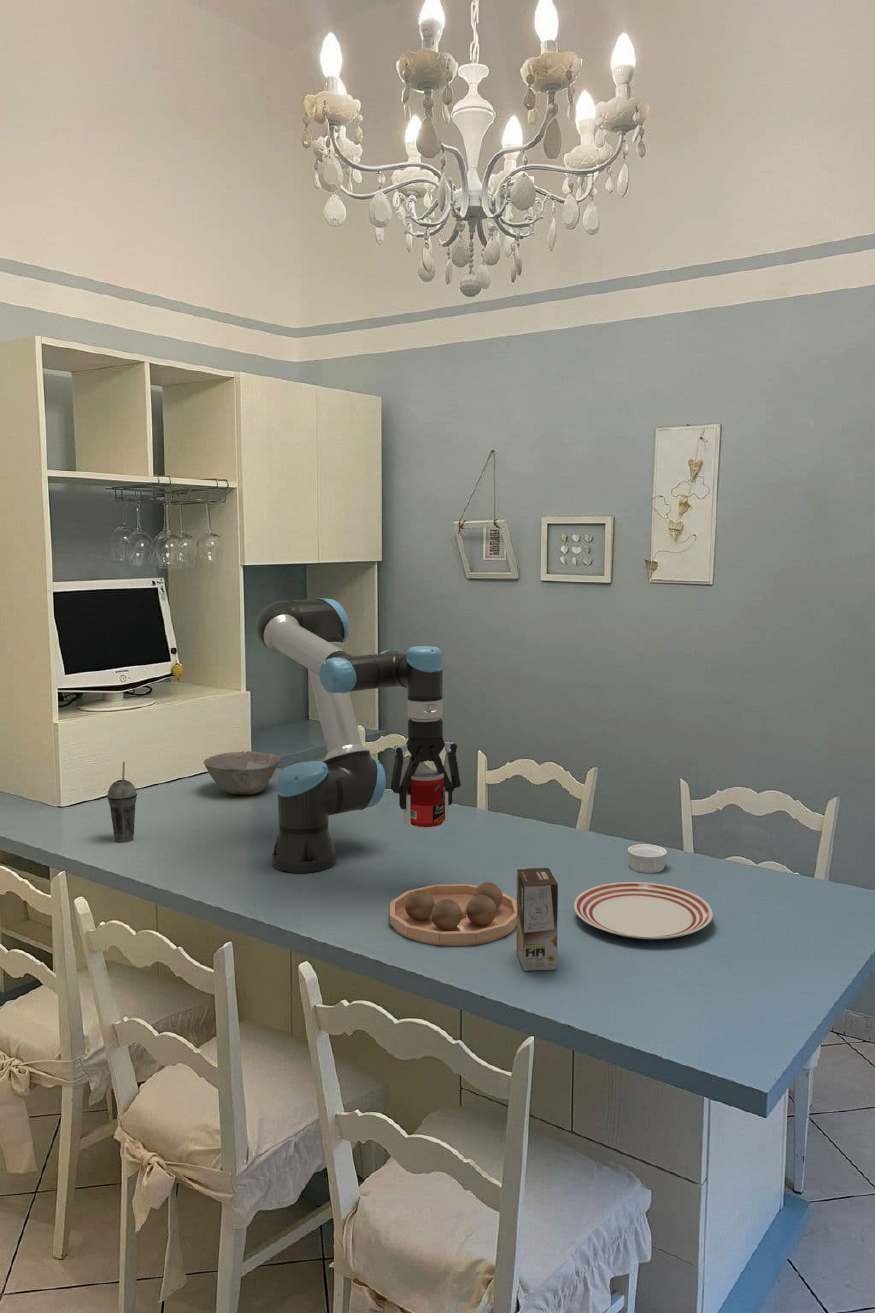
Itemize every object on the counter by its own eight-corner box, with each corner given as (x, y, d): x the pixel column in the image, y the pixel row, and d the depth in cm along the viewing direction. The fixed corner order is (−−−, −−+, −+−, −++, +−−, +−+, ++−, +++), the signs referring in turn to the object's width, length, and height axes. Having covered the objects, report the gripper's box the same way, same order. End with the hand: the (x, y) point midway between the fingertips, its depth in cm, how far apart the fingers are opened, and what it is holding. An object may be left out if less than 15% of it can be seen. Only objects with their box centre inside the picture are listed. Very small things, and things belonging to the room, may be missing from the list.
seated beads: (394, 925, 197) (394, 896, 196) (437, 895, 213) (437, 868, 212) (477, 943, 189) (477, 913, 188) (515, 910, 205) (515, 882, 204)
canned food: (440, 828, 213) (440, 778, 211) (404, 826, 214) (403, 776, 213) (447, 818, 220) (447, 769, 219) (412, 816, 222) (411, 768, 220)
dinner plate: (686, 962, 183) (687, 945, 182) (551, 930, 197) (551, 914, 197) (729, 912, 206) (729, 897, 205) (605, 887, 220) (605, 873, 220)
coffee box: (558, 970, 179) (559, 884, 177) (523, 972, 179) (523, 885, 176) (548, 948, 188) (549, 867, 186) (514, 950, 188) (515, 868, 185)
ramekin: (666, 875, 227) (667, 857, 227) (627, 873, 229) (627, 855, 228) (665, 863, 236) (666, 845, 235) (627, 860, 237) (628, 843, 237)
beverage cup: (103, 842, 252) (99, 765, 249) (122, 834, 259) (118, 758, 256) (126, 845, 249) (122, 767, 247) (145, 837, 256) (141, 761, 253)
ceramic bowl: (245, 806, 283) (244, 772, 282) (188, 795, 296) (187, 762, 294) (296, 789, 302) (296, 757, 300) (241, 779, 314) (240, 748, 313)
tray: (365, 930, 197) (365, 918, 197) (428, 887, 220) (428, 877, 219) (484, 956, 185) (484, 943, 185) (538, 908, 208) (538, 897, 207)
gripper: (382, 724, 208) (384, 830, 211) (476, 718, 214) (476, 821, 217) (374, 718, 215) (375, 821, 218) (465, 712, 221) (465, 812, 224)
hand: (426, 821), depth 217 cm, fingers closed on canned food, 8 cm apart
